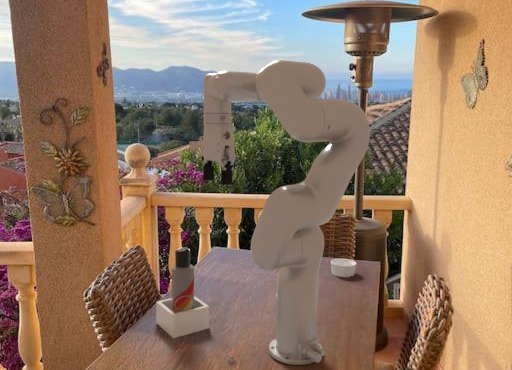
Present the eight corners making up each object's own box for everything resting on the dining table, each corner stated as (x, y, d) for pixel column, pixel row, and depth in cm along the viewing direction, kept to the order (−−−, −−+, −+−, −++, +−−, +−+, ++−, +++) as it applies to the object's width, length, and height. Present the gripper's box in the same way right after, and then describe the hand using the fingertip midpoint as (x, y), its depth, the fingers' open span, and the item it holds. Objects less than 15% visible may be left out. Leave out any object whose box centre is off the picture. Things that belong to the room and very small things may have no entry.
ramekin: (330, 268, 173) (331, 257, 172) (356, 270, 171) (356, 259, 170) (329, 277, 164) (329, 265, 163) (355, 279, 162) (356, 267, 162)
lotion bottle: (189, 328, 122) (188, 252, 119) (168, 325, 123) (167, 250, 120) (197, 318, 127) (197, 246, 124) (177, 316, 129) (176, 244, 126)
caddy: (209, 328, 124) (209, 306, 123) (173, 338, 119) (173, 315, 118) (191, 314, 133) (190, 293, 132) (156, 323, 127) (156, 301, 126)
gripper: (246, 121, 125) (245, 185, 128) (213, 119, 139) (213, 177, 142) (222, 121, 121) (221, 187, 124) (190, 119, 135) (190, 179, 138)
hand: (217, 182), depth 133 cm, fingers open, 9 cm apart
